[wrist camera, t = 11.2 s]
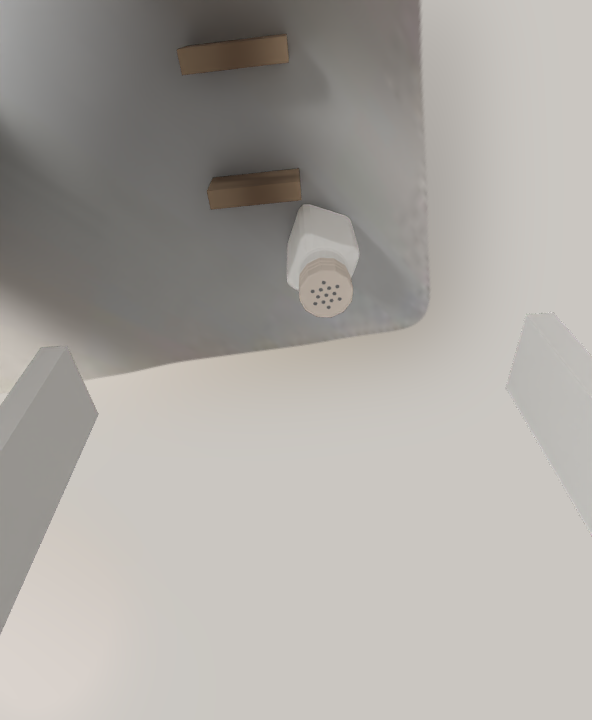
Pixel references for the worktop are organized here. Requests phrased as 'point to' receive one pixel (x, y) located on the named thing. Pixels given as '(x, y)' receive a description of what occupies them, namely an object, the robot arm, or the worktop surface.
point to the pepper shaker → (322, 260)
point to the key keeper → (233, 57)
